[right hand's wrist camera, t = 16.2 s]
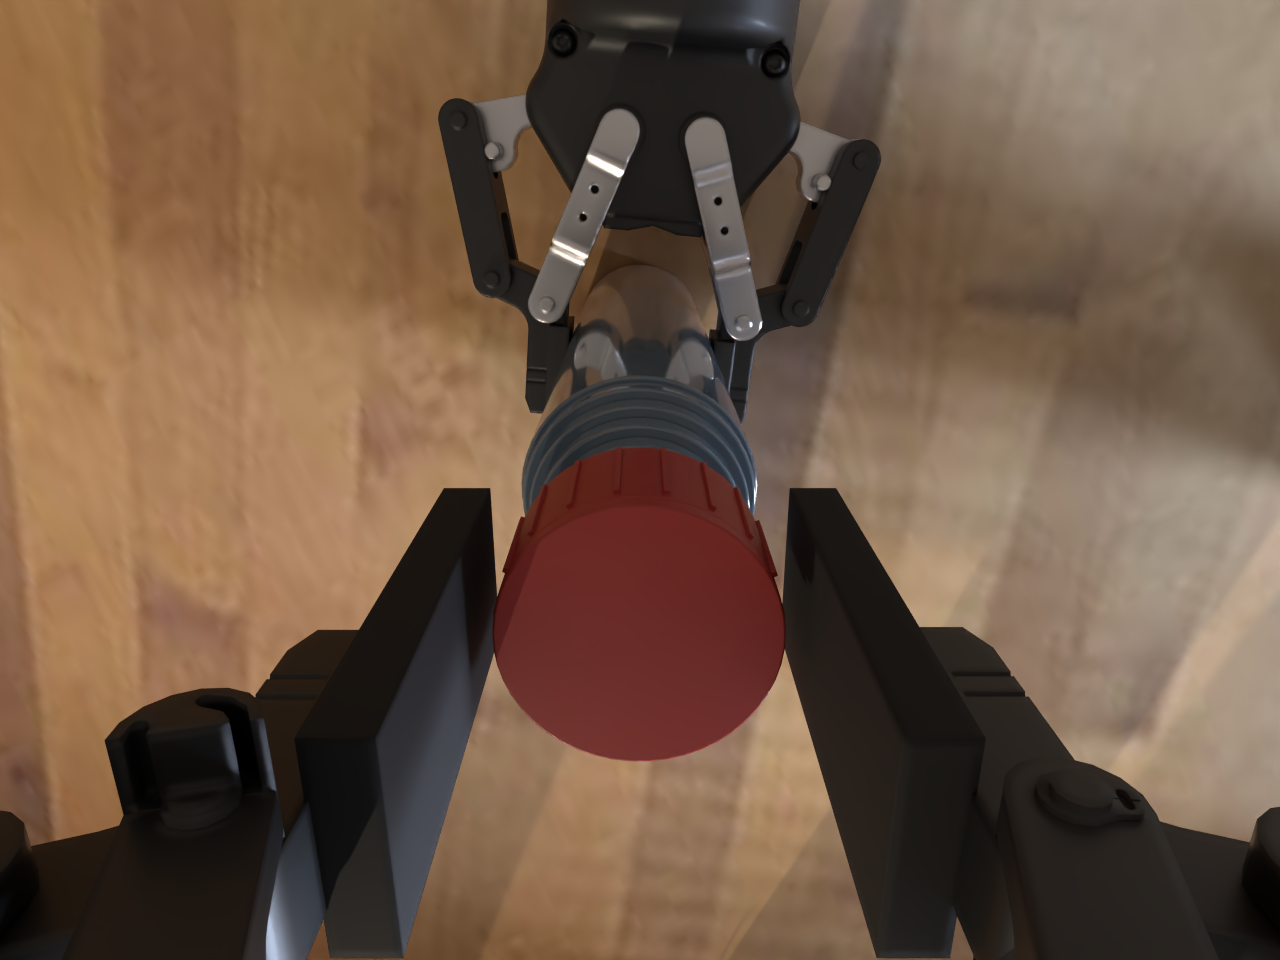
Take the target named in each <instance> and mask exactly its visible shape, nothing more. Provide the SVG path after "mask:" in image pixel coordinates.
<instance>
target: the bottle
mask: <svg viewBox="0 0 1280 960" xmlns="http://www.w3.org/2000/svg"><path fill="white" fill-rule="evenodd" d="M618 447H622V449H623V448H631V447H648V448H656V449H661V448H666V450H668V451H672V452H676V453H680V454H683V455H685V456H688V457H690V458H693V459H695V460H698V461H699V462H701V463H702V461H704V462H705V463H707V466H708V467H710V468H712V469H713V470H714V471H716V472H717V473H718V474H720V475H721V476H723V477H724V478H725V479H726V480H727V481H728V482H729V483H730V484H731V485H732V486H733V487H734V488H735V487H738V488H739V489H740V492H741V496H742V498H743V499H744V500H745V502H746V504H747V505H748V507H749V509H750V511H751V512H752V514H753V516H754V512H755V504H756V499H757V474H756V467H755V462H754V458H753V454H752V452H751V449H750V446H749V444H748V441H747V439H746V436H745V433H744V431H743V428H742V426H741V423H740V420H739V418H738V415H737V412H736V410H735V407H734V405H733V402H732V399H731V397H730V394H729V392H728V389H727V386H726V384H725V381H724V378H723V376H722V373H721V371H720V368H719V365H718V363H717V360H716V358H715V355H714V352H713V350H712V347H711V345H710V342H709V339H708V337H707V334H706V331H705V329H704V326H703V324H702V321H701V318H700V316H699V313H698V311H697V308H696V305H695V303H694V300H693V298H692V296H691V294H690V292H689V291H688V289H687V288H686V287H685V285H684V284H683V283H682V282H681V281H680V280H679V279H678V278H676V277H675V276H674V275H672V274H671V273H669V272H667V271H665V270H663V269H661V268H658V267H654V266H650V265H630V266H625V267H622V268H619V269H617V270H614V271H612V272H611V273H609V274H607V275H606V276H605V277H603V278H602V279H601V280H600V281H599V282H598V283H597V284H596V285H595V286H594V288H593V289H592V290H591V292H590V294H589V296H588V297H587V300H586V302H585V305H584V307H583V310H582V312H581V315H580V318H579V320H578V323H577V325H576V328H575V330H574V333H573V336H572V338H571V341H570V343H569V346H568V348H567V351H566V354H565V356H564V359H563V361H562V364H561V367H560V369H559V372H558V374H557V377H556V379H555V382H554V385H553V387H552V390H551V392H550V395H549V397H548V400H547V403H546V405H545V408H544V410H543V413H542V415H541V418H540V421H539V423H538V426H537V428H536V431H535V433H534V436H533V439H532V441H531V444H530V446H529V449H528V452H527V454H526V458H525V462H524V467H523V474H522V498H523V505H524V512H525V515H526V513H527V512H528V510H529V508H530V506H531V505H532V503H533V501H534V500H535V499H536V497H537V496H538V495H539V493H540V490H541V487H542V486H543V485H544V484H546V485H547V484H549V483H550V482H551V481H552V480H553V479H554V478H555V477H556V476H557V475H559V474H560V473H561V472H563V471H564V470H565V469H567V468H568V467H570V466H572V465H574V464H575V461H577V460H579V459H580V461H581V460H583V459H586V458H588V457H591V456H593V455H596V454H599V453H603V452H606V451H610V450H615V449H617V448H618Z"/></svg>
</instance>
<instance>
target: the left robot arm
mask: <svg viewBox="0 0 1280 960" xmlns="http://www.w3.org/2000/svg"><path fill="white" fill-rule="evenodd" d="M799 5H800V0H547V19H546V40H545V48H544V53H543V57H542V60H541V63H540V65H539V68H538V70H537V72H536V73H535V75H534V77H533V78H532V80H531V82H530V84H529V86H528V89H527V92H526V94H524V95H518V96H512V97H507V98H501V99H495V100H489V101H483V102H477V103H472V102H469V101H466V100H463V99H459V98H455V99H451V100H448V101H447V102H445V103H444V104H443V106H442V107H441V109H440V111H439V116H438V121H439V126H440V131H441V135H442V140H443V145H444V149H445V154H446V158H447V163H448V167H449V172H450V177H451V181H452V186H453V190H454V195H455V199H456V204H457V209H458V213H459V218H460V222H461V227H462V231H463V236H464V241H465V245H466V250H467V254H468V259H469V263H470V268H471V273H472V277H473V282H474V285H475V287H476V289H477V290H478V291H479V292H480V293H481V294H482V295H484V296H486V297H489V298H497V299H500V300H502V301H504V302H506V303H508V304H510V305H512V306H514V307H516V308H518V309H519V310H520V311H521V312H522V313H523V314H524V316H525V317H526V319H527V322H528V329H529V331H528V352H527V373H526V394H525V398H526V401H527V404H528V407H529V410H530V412H531V413H543V410H544V408H545V405H546V403H547V400H548V397H549V395H550V392H551V390H552V387H553V385H554V382H555V379H556V377H557V374H558V372H559V369H560V367H561V364H562V361H563V359H564V356H565V354H566V351H567V348H568V346H569V343H570V341H571V338H572V336H573V331H574V316H569V301H570V299H571V297H572V294H573V292H574V290H575V287H576V285H577V283H578V280H579V278H580V276H581V273H582V271H583V269H584V266H585V264H586V262H587V259H588V257H589V255H590V253H591V250H592V248H593V246H594V244H595V241H596V239H597V237H598V234H599V232H600V230H601V227H602V225H604V228H608V229H619V230H633V229H638V228H644V227H649V226H655V227H658V228H661V229H663V230H666V231H668V232H671V233H674V234H676V235H683V236H693V237H701V240H702V245H703V249H704V254H705V258H706V261H707V265H708V269H709V273H710V277H711V281H712V286H713V290H714V295H715V299H716V303H717V308H718V319H717V327H716V330H712V329H710V333H709V342H710V345H711V347H712V350H713V352H714V355H715V358H716V360H717V363H718V365H719V368H720V371H721V373H722V376H723V378H724V381H725V384H726V386H727V389H728V392H729V394H730V397H731V399H732V402H733V405H734V407H735V410H736V412H737V415H738V418H739V420H740V423H741V424H742V422H743V420H744V418H745V413H746V406H747V399H748V390H749V384H750V377H751V369H752V362H753V355H754V349H755V346H756V343H757V342H758V340H759V339H760V338H761V337H762V336H763V335H764V334H765V333H767V332H769V331H772V330H775V329H779V328H783V327H787V326H791V325H792V326H796V327H803V326H806V325H809V324H810V323H812V322H813V321H814V320H815V318H816V317H817V315H818V312H819V310H820V308H821V305H822V303H823V300H824V298H825V296H826V293H827V291H828V288H829V286H830V284H831V281H832V279H833V276H834V274H835V272H836V269H837V267H838V264H839V262H840V260H841V257H842V255H843V253H844V250H845V248H846V245H847V243H848V241H849V238H850V236H851V233H852V231H853V229H854V226H855V224H856V221H857V219H858V217H859V214H860V212H861V209H862V207H863V205H864V202H865V200H866V197H867V195H868V193H869V190H870V188H871V185H872V183H873V181H874V178H875V176H876V174H877V171H878V169H879V166H880V162H881V155H880V151H879V149H878V147H877V146H876V145H875V144H874V143H873V142H871V141H869V140H865V139H850V140H848V139H845V138H843V137H840V136H838V135H835V134H832V133H830V132H827V131H825V130H822V129H819V128H817V127H814V126H812V125H809V124H806V123H804V122H801V121H800V112H799V108H798V105H797V103H796V100H795V97H794V94H793V90H792V84H791V64H792V56H793V49H794V41H795V34H796V27H797V20H798V12H799ZM531 127H533V129H534V131H535V132H536V134H537V136H538V138H539V139H540V141H541V143H542V144H543V146H544V148H545V149H546V151H547V153H548V154H549V156H550V158H551V160H552V161H553V163H554V165H555V166H556V168H557V170H558V171H559V173H560V175H561V177H562V178H563V180H564V182H565V183H566V185H567V187H568V188H569V190H570V192H571V196H570V198H569V200H568V203H567V205H566V208H565V210H564V212H563V215H562V217H561V220H560V222H559V225H558V227H557V229H556V232H555V234H554V237H553V239H552V242H551V245H550V248H549V251H548V253H547V256H546V258H545V261H544V263H543V265H542V268H541V270H540V271H539V270H537V269H535V268H533V267H531V266H529V265H527V264H525V263H522V262H520V261H519V259H518V254H517V249H516V244H515V239H514V234H513V229H512V224H511V219H510V214H509V209H508V204H507V199H506V194H505V189H504V184H503V179H502V174H501V171H505V170H508V169H510V168H511V167H512V166H513V165H514V164H515V163H516V161H517V158H518V142H519V139H520V137H521V135H522V134H523V133H524V132H525V131H526V130H527V129H529V128H531ZM787 153H790V154H791V155H792V156H793V157H794V158H795V160H796V162H797V166H798V174H797V178H796V188H797V191H798V193H799V194H800V195H801V196H802V197H803V198H804V199H806V200H808V204H807V206H806V209H805V211H804V214H803V216H802V219H801V221H800V224H799V226H798V229H797V232H796V234H795V237H794V239H793V242H792V244H791V247H790V249H789V252H788V254H787V257H786V259H785V262H784V264H783V267H782V269H781V272H780V274H779V277H778V279H777V282H776V285H772V286H769V287H765V288H761V289H757V290H756V289H755V285H754V280H753V275H752V270H751V260H750V254H749V249H748V244H747V239H746V234H745V230H744V225H743V220H742V215H741V211H740V207H741V206H742V205H743V204H744V202H745V201H746V200H747V199H748V198H749V197H750V196H751V194H752V193H753V192H754V191H755V190H756V189H757V188H758V186H759V185H760V184H761V183H762V182H763V181H764V180H765V178H766V177H767V176H768V175H769V174H770V173H771V172H772V170H773V169H774V168H775V167H776V166H777V165H778V164H779V162H780V161H781V160H782V159H783V158H784V157H785V155H786V154H787Z"/></svg>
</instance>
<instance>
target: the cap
mask: <svg viewBox="0 0 1280 960" xmlns="http://www.w3.org/2000/svg"><path fill="white" fill-rule="evenodd" d="M502 572H504V573H505V575H504V578H503V581H502V584H501V587H500V590H499V593H498V596H497V599H496V602H495V606H494V609H493V614H494V618H493V630H492V633H493V648H494V653H495V657H496V662H497V666H498V668H499V671H500V674H501V676H502V679H503V681H504V683H505V685H506V687H507V688H508V690H509V692H510V694H511V696H512V697H513V698H514V700H515V701H516V703H517V704H518V705H519V707H520V708H521V709H522V710H523V711H524V712H525V714H526V715H527V716H528V717H529V718H530V719H531V720H532V721H533V722H534V723H536V724H537V725H538V726H539V727H541V728H542V729H543V730H544V731H545V732H547V733H548V734H550V735H551V736H553V737H555V738H556V739H558V740H559V741H561V742H563V743H565V744H567V745H569V746H571V747H573V748H576V749H578V750H581V751H584V752H586V753H589V754H592V755H596V756H600V757H605V758H609V759H615V760H624V761H654V760H663V759H669V758H674V757H678V756H683V755H686V754H689V753H692V752H695V751H698V750H701V749H703V748H705V747H707V746H709V745H711V744H713V743H715V742H717V741H719V740H721V739H722V738H724V737H725V736H727V735H729V734H730V733H732V732H733V731H734V730H735V729H737V728H738V727H739V726H740V725H742V724H743V723H744V722H745V721H746V720H747V719H748V718H749V717H750V716H751V715H752V714H753V713H754V712H755V711H756V710H757V709H758V707H759V706H760V704H761V703H762V702H763V700H764V699H765V698H766V696H767V695H768V693H769V691H770V689H771V687H772V685H773V684H774V682H775V680H776V677H777V675H778V672H779V669H780V666H781V663H782V659H783V654H784V650H785V638H786V626H785V611H784V608H783V605H782V602H781V598H780V594H779V591H778V589H777V585H776V582H775V579H774V577H776V576H778V575H777V572H776V569H775V566H774V563H773V560H772V557H771V554H770V551H769V548H768V545H767V542H766V539H765V536H764V533H763V530H762V527H761V524H760V521H759V520H758V521H755V519H754V516H753V514H752V512H751V511H750V509H749V507H748V505H747V504H746V502H745V500H744V499H743V498H742V496H741V492H740V489H739V488H738V487H735V488H734V487H733V486H732V485H731V484H730V483H729V482H728V481H727V480H726V479H725V478H724V477H723V476H721V475H720V474H718V473H717V472H716V471H714V470H713V469H712V468H710V467H708V466H707V463H705V462H704V461H702V463H701V462H699V461H698V460H695V459H693V458H690V457H688V456H685V455H683V454H680V453H676V452H672V451H668V450H666V448H661V449H656V448H648V447H631V448H623V449H622V447H618V448H617V449H615V450H610V451H606V452H603V453H599V454H596V455H593V456H591V457H588V458H586V459H583V460H581V461H580V459H579V460H577V461H575V464H574V465H572V466H570V467H568V468H567V469H565V470H564V471H563V472H561V473H560V474H559V475H557V476H556V477H555V478H554V479H553V480H552V481H551V482H550V483H549V484H547V485H546V484H544V485H543V486H542V487H541V490H540V493H539V495H538V496H537V497H536V499H535V500H534V501H533V503H532V505H531V506H530V508H529V510H528V512H527V513H526V515H525V518H524V517H521V518H520V520H519V523H518V526H517V529H516V532H515V535H514V538H513V541H512V544H511V547H510V550H509V553H508V556H507V559H506V562H505V565H504V568H503V571H502Z"/></svg>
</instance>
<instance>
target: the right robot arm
mask: <svg viewBox="0 0 1280 960" xmlns="http://www.w3.org/2000/svg"><path fill="white" fill-rule="evenodd" d="M496 599H497V588H496V572H495V556H494V540H493V525H492V509H491V493H490V488H444V489H443V491H442V492H441V494H440V496H439V497H438V499H437V501H436V502H435V504H434V506H433V507H432V509H431V511H430V512H429V514H428V516H427V517H426V519H425V521H424V522H423V524H422V526H421V527H420V529H419V531H418V532H417V534H416V536H415V537H414V539H413V541H412V542H411V544H410V546H409V547H408V549H407V551H406V552H405V554H404V556H403V557H402V559H401V561H400V562H399V564H398V566H397V567H396V569H395V571H394V572H393V574H392V576H391V577H390V579H389V581H388V582H387V584H386V586H385V587H384V589H383V591H382V592H381V594H380V596H379V597H378V599H377V601H376V602H375V604H374V606H373V607H372V609H371V611H370V612H369V614H368V616H367V617H366V619H365V621H364V622H363V624H362V626H361V627H360V629H359V630H317V631H316V632H314V633H313V634H311V635H310V636H308V637H307V638H305V639H304V640H302V641H301V642H299V643H298V644H296V645H295V646H293V647H292V648H290V649H289V650H287V652H286V653H285V655H284V656H283V657H282V659H281V660H280V662H279V663H278V664H277V666H276V667H275V668H274V670H273V671H272V673H271V674H270V679H267V680H266V681H265V682H264V684H263V685H262V686H261V688H260V689H259V691H258V692H257V693H256V698H255V697H254V696H252V695H251V694H250V693H248V692H243V691H239V690H235V689H231V688H208V689H198V690H193V691H189V692H184V693H180V694H175V695H171V696H169V697H166V698H164V699H161V700H159V701H157V702H154V703H152V704H149V705H147V706H144V707H142V708H141V709H139V710H138V711H136V712H135V713H133V714H132V715H130V716H129V717H127V718H126V719H124V720H123V721H121V722H120V723H119V724H118V725H117V726H116V727H115V729H114V730H113V731H112V732H111V733H110V734H109V736H108V737H107V738H106V739H105V744H106V748H107V752H108V756H109V759H110V763H111V767H112V771H113V775H114V779H115V783H116V787H117V791H118V795H119V799H120V803H121V806H122V810H123V814H124V816H123V818H122V820H121V823H120V825H119V826H116V827H113V828H109V829H106V830H102V831H99V832H94V833H90V834H85V835H81V836H76V837H71V838H67V839H62V840H58V841H53V842H48V843H44V844H39V845H35V846H31V844H30V841H29V838H28V835H27V831H26V828H25V825H24V823H23V822H22V821H21V820H20V819H19V818H17V817H16V816H15V815H14V814H13V813H11V812H7V811H0V960H307V957H308V955H309V952H310V950H311V947H312V945H313V943H314V940H315V938H316V935H317V933H318V931H319V928H320V926H321V923H322V921H323V919H324V924H325V930H326V936H327V942H328V948H329V954H330V958H403V957H404V954H405V950H406V947H407V944H408V940H409V937H410V933H411V930H412V927H413V923H414V920H415V917H416V913H417V910H418V907H419V903H420V900H421V896H422V893H423V890H424V886H425V883H426V880H427V876H428V873H429V870H430V866H431V863H432V859H433V856H434V853H435V849H436V846H437V843H438V839H439V836H440V833H441V829H442V826H443V822H444V819H445V816H446V812H447V809H448V806H449V802H450V799H451V796H452V792H453V789H454V785H455V782H456V779H457V775H458V772H459V769H460V765H461V762H462V759H463V755H464V752H465V748H466V745H467V742H468V738H469V735H470V732H471V728H472V725H473V722H474V718H475V715H476V711H477V708H478V705H479V701H480V698H481V695H482V691H483V688H484V685H485V681H486V678H487V674H488V671H489V668H490V664H491V661H492V658H493V654H494V648H493V633H492V630H493V618H494V614H493V609H494V606H495V602H496ZM782 605H783V608H784V611H785V626H786V638H785V651H786V654H787V658H788V661H789V664H790V668H791V671H792V674H793V678H794V681H795V685H796V688H797V691H798V695H799V698H800V701H801V705H802V708H803V711H804V715H805V718H806V722H807V725H808V728H809V732H810V735H811V738H812V742H813V745H814V748H815V752H816V755H817V759H818V762H819V765H820V769H821V772H822V775H823V779H824V782H825V785H826V789H827V792H828V796H829V799H830V802H831V806H832V809H833V812H834V816H835V819H836V822H837V826H838V829H839V833H840V836H841V839H842V843H843V846H844V849H845V853H846V856H847V859H848V863H849V866H850V870H851V873H852V876H853V880H854V883H855V886H856V890H857V893H858V896H859V900H860V903H861V907H862V910H863V913H864V917H865V920H866V923H867V927H868V930H869V933H870V937H871V940H872V944H873V947H874V950H875V954H876V957H877V958H950V954H951V948H952V942H953V936H954V930H955V924H956V918H957V917H958V919H959V922H960V924H961V926H962V929H963V931H964V933H965V936H966V938H967V941H968V943H969V945H970V948H971V950H972V952H973V960H1280V807H1275V808H1270V809H1269V810H1268V811H1266V812H1265V813H1264V814H1263V815H1262V816H1260V817H1259V818H1258V819H1257V822H1256V825H1255V828H1254V831H1253V835H1252V838H1251V841H1250V843H1249V842H1245V841H1240V840H1235V839H1231V838H1226V837H1222V836H1217V835H1212V834H1208V833H1203V832H1199V831H1194V830H1189V829H1185V828H1181V827H1177V826H1174V825H1170V824H1167V823H1163V822H1160V821H1159V819H1158V816H1157V814H1156V813H1155V811H1154V810H1153V809H1152V807H1151V806H1150V804H1149V803H1148V802H1147V800H1146V799H1145V797H1144V796H1143V795H1142V794H1141V793H1140V792H1138V791H1137V790H1136V789H1134V788H1133V787H1132V786H1130V785H1129V784H1128V783H1126V782H1125V781H1124V780H1123V779H1121V778H1120V777H1117V776H1115V775H1113V774H1111V773H1109V772H1107V771H1105V770H1103V769H1100V768H1098V767H1096V766H1094V765H1091V764H1087V763H1083V762H1079V761H1075V760H1074V759H1073V757H1072V756H1071V754H1070V753H1069V752H1068V750H1067V749H1066V748H1065V746H1064V745H1063V743H1062V742H1061V741H1060V739H1059V738H1058V736H1057V735H1056V734H1055V732H1054V731H1053V730H1052V728H1051V727H1050V725H1049V724H1048V723H1047V721H1046V720H1045V719H1044V717H1043V716H1042V714H1041V713H1040V712H1039V710H1038V709H1037V708H1036V706H1035V705H1034V703H1033V702H1032V701H1031V699H1030V698H1029V697H1025V691H1024V690H1023V688H1022V687H1021V686H1020V684H1019V683H1018V681H1017V680H1016V679H1015V677H1014V676H1011V675H1010V670H1009V669H1008V668H1007V666H1006V665H1005V663H1004V662H1003V661H1002V659H1001V658H1000V657H999V655H998V654H997V652H996V651H995V650H994V648H993V647H991V646H990V645H988V644H987V643H985V642H984V641H982V640H981V639H979V638H978V637H976V636H975V635H973V634H972V633H970V632H969V631H967V630H966V629H964V628H963V627H919V626H918V624H917V622H916V621H915V619H914V617H913V616H912V614H911V612H910V611H909V609H908V607H907V606H906V604H905V602H904V601H903V599H902V597H901V596H900V594H899V592H898V591H897V589H896V587H895V586H894V584H893V582H892V581H891V579H890V577H889V576H888V574H887V572H886V571H885V569H884V567H883V566H882V564H881V562H880V561H879V559H878V557H877V556H876V554H875V552H874V551H873V549H872V547H871V546H870V544H869V542H868V541H867V539H866V537H865V536H864V534H863V532H862V531H861V529H860V527H859V526H858V524H857V522H856V521H855V519H854V517H853V516H852V514H851V512H850V511H849V509H848V507H847V506H846V504H845V502H844V501H843V499H842V497H841V496H840V494H839V492H838V491H837V489H836V488H790V493H789V509H788V525H787V541H786V556H785V572H784V588H783V603H782Z"/></svg>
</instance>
